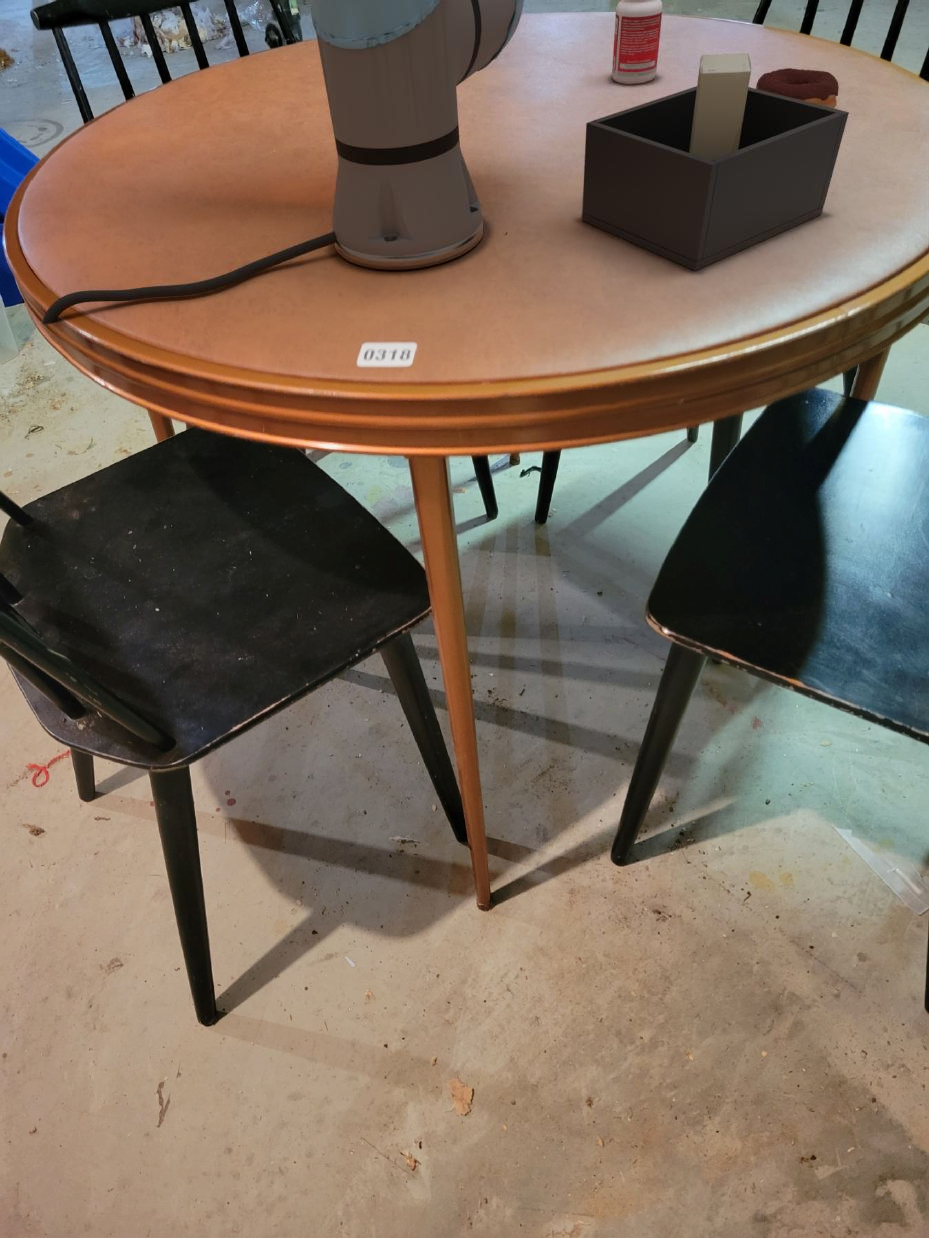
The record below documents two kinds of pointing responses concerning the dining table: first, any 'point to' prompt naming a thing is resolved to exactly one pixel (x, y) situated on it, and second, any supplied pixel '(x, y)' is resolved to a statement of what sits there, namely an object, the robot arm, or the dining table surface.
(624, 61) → the pill bottle
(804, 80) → the donut
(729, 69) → the cosmetic box
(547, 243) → the dining table surface
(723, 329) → the dining table surface
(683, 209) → the storage bin
